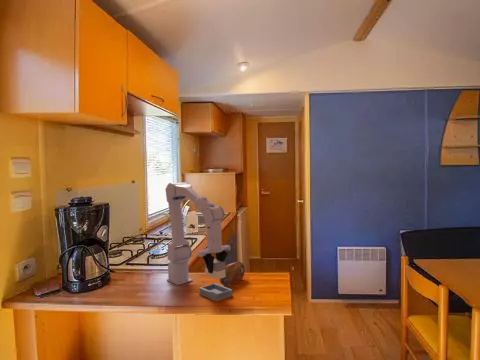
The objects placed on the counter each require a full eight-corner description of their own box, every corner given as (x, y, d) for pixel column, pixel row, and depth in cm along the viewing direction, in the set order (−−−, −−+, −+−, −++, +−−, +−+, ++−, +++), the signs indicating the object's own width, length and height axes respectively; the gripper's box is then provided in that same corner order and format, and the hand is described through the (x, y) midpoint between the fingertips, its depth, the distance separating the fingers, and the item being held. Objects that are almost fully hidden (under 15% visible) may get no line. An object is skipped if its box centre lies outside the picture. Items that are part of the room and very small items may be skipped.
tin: (223, 288, 145) (223, 268, 145) (218, 287, 147) (217, 267, 147) (245, 278, 157) (244, 260, 157) (239, 277, 159) (239, 259, 159)
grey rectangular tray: (199, 294, 139) (199, 287, 139) (215, 288, 145) (215, 283, 145) (216, 301, 131) (216, 295, 131) (232, 295, 136) (232, 289, 136)
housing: (217, 279, 133) (217, 264, 133) (205, 274, 139) (204, 260, 139) (225, 277, 136) (225, 261, 136) (213, 272, 142) (212, 258, 142)
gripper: (205, 241, 129) (206, 278, 130) (234, 235, 139) (235, 269, 139) (194, 239, 134) (195, 273, 135) (223, 233, 144) (224, 266, 145)
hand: (215, 271), depth 138 cm, fingers closed on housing, 4 cm apart
